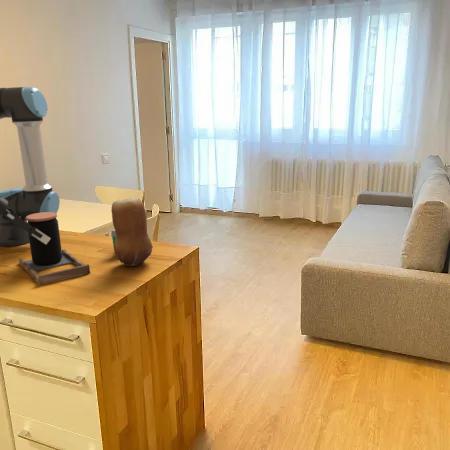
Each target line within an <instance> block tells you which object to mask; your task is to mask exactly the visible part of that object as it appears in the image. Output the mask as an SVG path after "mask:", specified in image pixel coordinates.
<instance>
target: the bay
mask: <svg viewBox="0 0 450 450" xmlns="http://www.w3.org/2000/svg"><path fill="white" fill-rule="evenodd" d="M61 250H62V254H64V255H65V256H66V257H67V258H69V259H70V260H71V261H73V263H72V264H74V265H75V266H73V267H70V268H65V269H62V270H56V271H53V272H48V273H44V274H38V273H37V271H34V270H33V269H32V268H31V267H30V266H29V265H28V264H27V263H26V262H25V261H26V260H24V259H23V258H22V257H20V258H18V260H19V264H20V265H21V266H22V267H23V269H24V270H26V272H27V273H28V274H29V276H31V278H33V279H34V281H36V282H37V284H39V286H42V285H46V284H51V283H55V282H59V281H62V280H63V281H64V280H67V279H73V278H75V277H79V276H83V275H87V274H88V275H89V274H91V269H90V268H91V267H90V265H89V264H88V263H87V264H84V263H83V262H82V261H81V260H79V259H78V258H77V257H75V255H73V254H72V253H70V252H69V251H67V250H66V249H61Z"/></svg>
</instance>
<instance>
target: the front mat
mask: <svg viewBox="0 0 450 450" xmlns="http://www.w3.org/2000/svg"><path fill="white" fill-rule="evenodd" d="M24 261H25V262H26V263H27V264H28V265H29V266H30V267H31V268H32V269H33V270H34V271H35V272H39V271H45V270H48V269H52V268H56V267H61V266H65V265H70V264H71V265H72V264H74V263H73V261H71V260H70V259H69V258H67V257H66V256H65V255H64V254H62V259H61V261H60V262H58V263H56V264H53V265H48V266H38V265H35V264H34V263H33V262H32V259H29V260H24Z"/></svg>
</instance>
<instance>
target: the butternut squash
mask: <svg viewBox="0 0 450 450" xmlns="http://www.w3.org/2000/svg"><path fill="white" fill-rule="evenodd" d="M110 212H111V219H112V226H113V228H114V231H116V240H115V245H114V246H113V250H114V249H115V253H114V255H115V256H116V259H117V260H118V261H119V262H120V263H121V264H124V265H127V266H130V267H138V266H139V265H140V266H141V265H142V264H144V263H145V261H146V260H147V259H148V258H149V257H150V255H151V254H152V253H153V247H154V246H153V244H152V241H151V239H150V237H149V234H148V224H147V223H148V221H147V220H148V219H147V218H148V217H147V213H146V208H145V204H144V202H143V201H142V200H141V199H140V198H137V197H131V198H126V199H118V200H115V201H113V202H112V204H111V211H110Z"/></svg>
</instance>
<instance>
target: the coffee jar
mask: <svg viewBox="0 0 450 450" xmlns="http://www.w3.org/2000/svg"><path fill="white" fill-rule="evenodd" d="M57 217H58V214H56V213H53V212H42V213H35V214H31V215H28V216H27V217H26V219H27V223H28V224H29V225H31V226H32V227H35V228H36V229H38V230H39V231H41V232H42V233H44V234H45V235H47V236H48V237H50V238H51V239H50V240H49V242H48V243H47V244H44V243H43V242H41V241H40V240H38V239H37V238H35V237H34V236H32V235H31V236H29V247H30V253H31V254H30V255H31V260H32V262H33V263H34V264H35V265H38V266H48V265H53V264H56V263H58V262H60V261H61V259H62V250H63V249H62V244H61V234H60V228H59V221H58V219H57ZM31 229H32V228H31ZM31 229H30V230H31ZM30 230H29V232H30ZM28 235H29V233H28Z"/></svg>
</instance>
